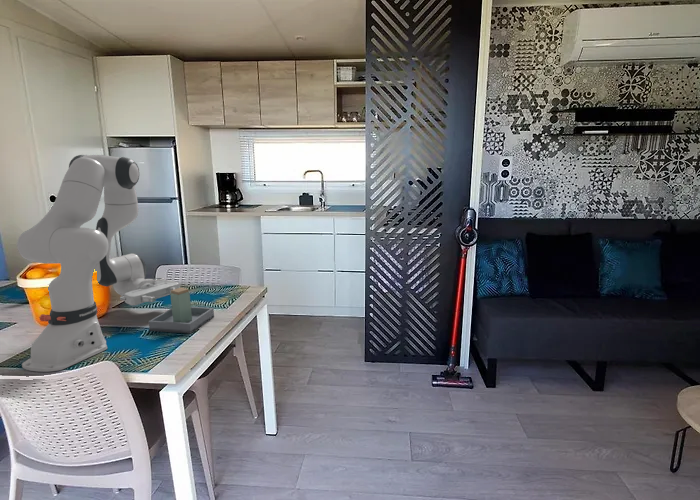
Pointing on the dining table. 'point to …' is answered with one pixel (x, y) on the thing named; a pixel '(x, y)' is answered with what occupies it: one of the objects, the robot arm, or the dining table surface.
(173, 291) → the spice jar
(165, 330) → the bin
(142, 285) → the robot arm
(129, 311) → the dining table surface
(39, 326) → the dining table surface
